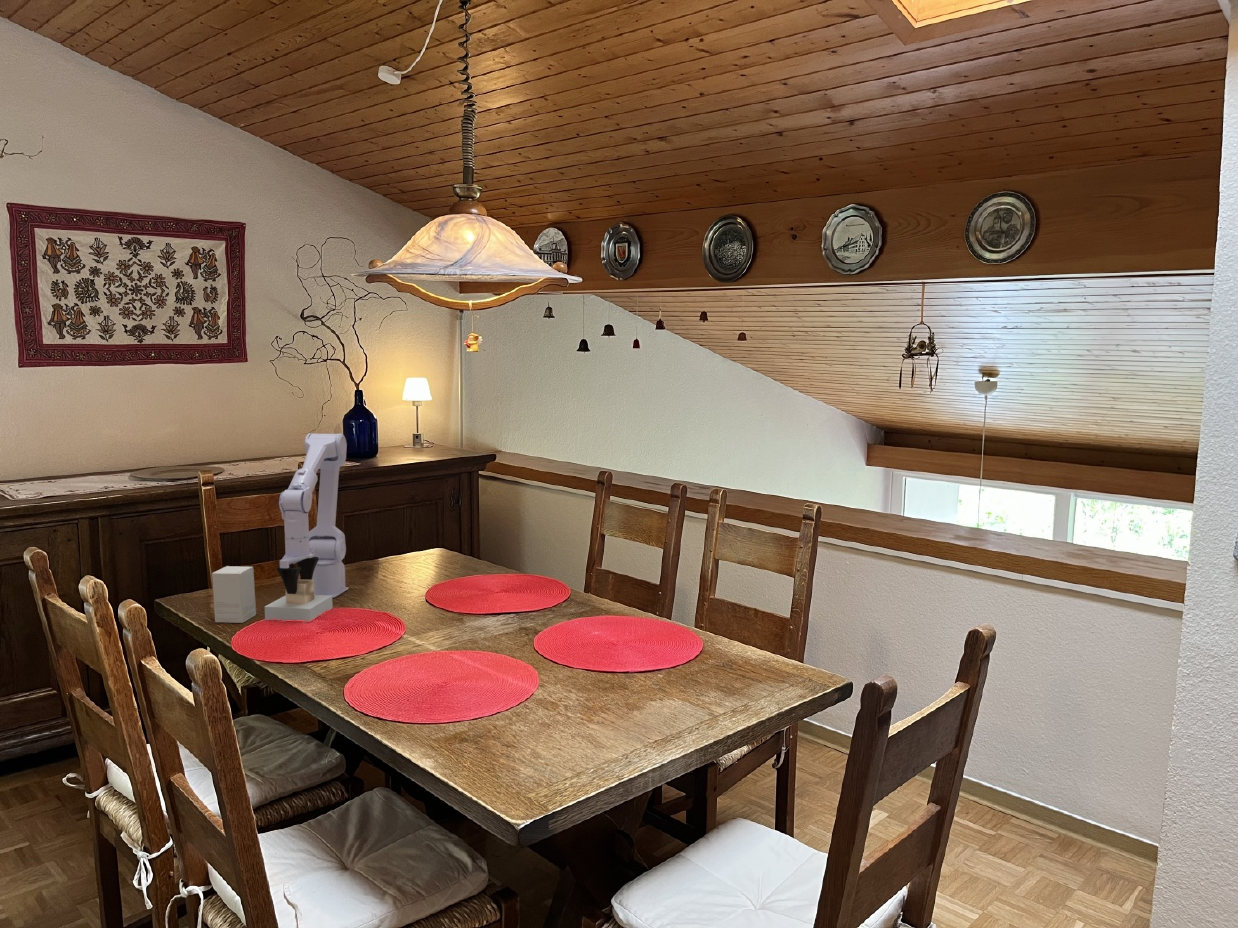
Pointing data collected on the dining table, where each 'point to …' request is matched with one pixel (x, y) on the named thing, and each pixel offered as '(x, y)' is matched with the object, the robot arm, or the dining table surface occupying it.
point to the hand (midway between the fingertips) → (299, 589)
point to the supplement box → (234, 594)
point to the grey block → (298, 609)
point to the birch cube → (302, 592)
